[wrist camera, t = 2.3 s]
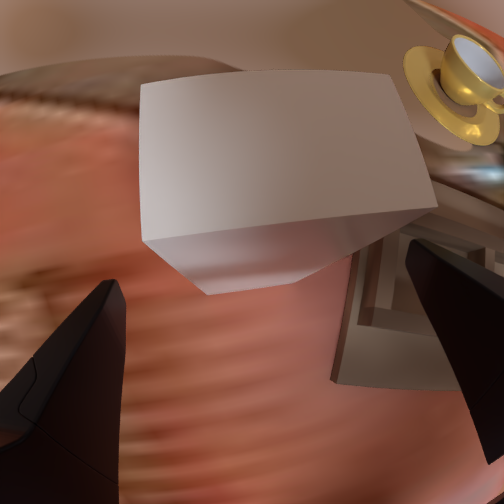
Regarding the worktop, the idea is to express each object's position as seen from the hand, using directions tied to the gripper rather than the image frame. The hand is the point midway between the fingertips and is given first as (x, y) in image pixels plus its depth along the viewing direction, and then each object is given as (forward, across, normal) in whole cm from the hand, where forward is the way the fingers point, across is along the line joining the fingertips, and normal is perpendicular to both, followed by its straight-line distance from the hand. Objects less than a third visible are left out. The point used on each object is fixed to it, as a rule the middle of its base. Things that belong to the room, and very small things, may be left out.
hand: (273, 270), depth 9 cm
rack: (+5, -15, +8) cm, 18 cm away
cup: (+18, -22, -4) cm, 28 cm away
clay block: (+8, 0, +6) cm, 10 cm away
